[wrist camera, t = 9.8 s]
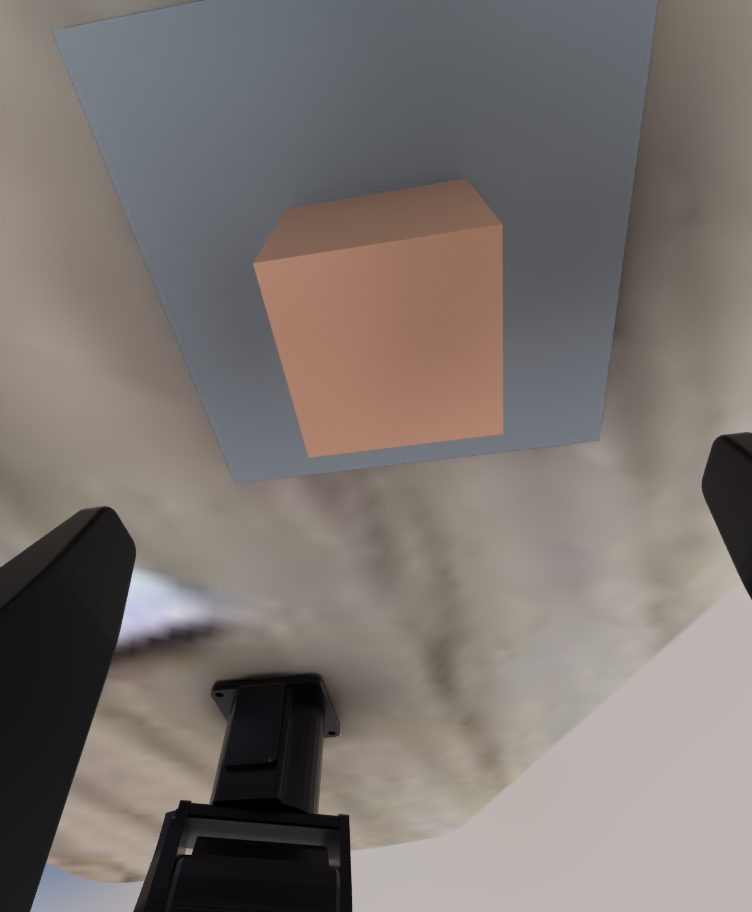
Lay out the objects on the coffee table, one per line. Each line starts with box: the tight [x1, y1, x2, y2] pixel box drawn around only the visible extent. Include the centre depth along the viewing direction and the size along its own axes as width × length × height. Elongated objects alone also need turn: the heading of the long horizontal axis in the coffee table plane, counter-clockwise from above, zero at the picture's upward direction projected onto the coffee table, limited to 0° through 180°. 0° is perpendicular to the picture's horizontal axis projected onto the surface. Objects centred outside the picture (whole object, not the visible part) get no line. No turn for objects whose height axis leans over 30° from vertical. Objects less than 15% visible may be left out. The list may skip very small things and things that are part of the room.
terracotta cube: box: [253, 178, 503, 458], centre depth 14 cm, size 5×5×5 cm
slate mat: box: [52, 0, 658, 483], centre depth 16 cm, size 14×14×1 cm
